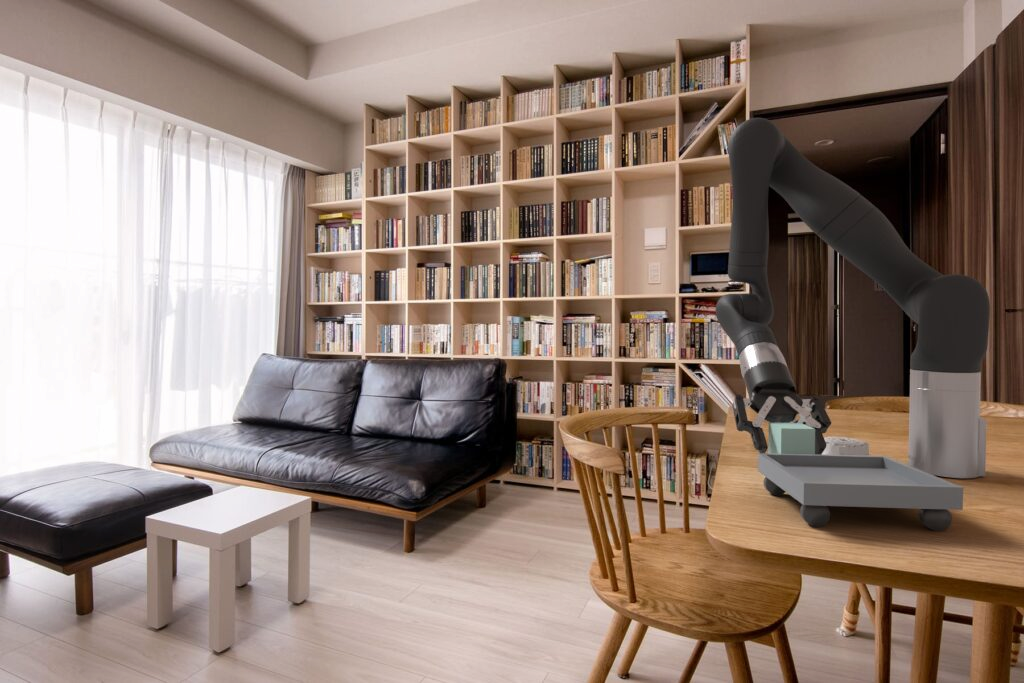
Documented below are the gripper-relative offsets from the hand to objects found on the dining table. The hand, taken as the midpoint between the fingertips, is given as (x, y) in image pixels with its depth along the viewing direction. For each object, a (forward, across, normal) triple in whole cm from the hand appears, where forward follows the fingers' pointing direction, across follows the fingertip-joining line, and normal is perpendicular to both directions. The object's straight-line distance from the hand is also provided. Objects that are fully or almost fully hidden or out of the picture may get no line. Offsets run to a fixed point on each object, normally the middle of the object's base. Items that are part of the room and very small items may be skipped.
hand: (792, 451), depth 82 cm
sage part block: (+3, 0, +4) cm, 5 cm away
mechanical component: (-6, +14, +13) cm, 20 cm away
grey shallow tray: (+12, +2, -5) cm, 13 cm away
